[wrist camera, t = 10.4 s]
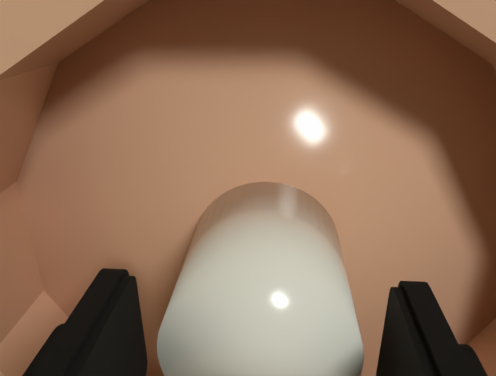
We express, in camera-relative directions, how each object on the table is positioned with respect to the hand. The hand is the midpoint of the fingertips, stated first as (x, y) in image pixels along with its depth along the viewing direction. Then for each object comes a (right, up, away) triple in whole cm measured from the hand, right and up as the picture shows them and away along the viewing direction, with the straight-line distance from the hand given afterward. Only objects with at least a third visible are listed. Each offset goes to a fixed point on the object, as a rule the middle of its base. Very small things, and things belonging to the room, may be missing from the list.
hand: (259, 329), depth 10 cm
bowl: (0, +2, +4) cm, 5 cm away
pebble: (0, +1, +3) cm, 4 cm away
